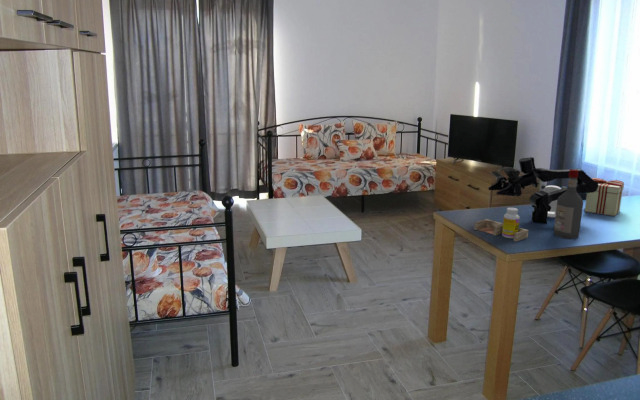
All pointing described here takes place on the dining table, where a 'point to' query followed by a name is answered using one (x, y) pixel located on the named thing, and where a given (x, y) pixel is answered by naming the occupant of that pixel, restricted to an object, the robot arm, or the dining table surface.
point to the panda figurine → (554, 203)
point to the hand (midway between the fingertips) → (492, 191)
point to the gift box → (605, 197)
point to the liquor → (569, 210)
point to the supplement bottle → (510, 223)
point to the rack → (498, 229)
